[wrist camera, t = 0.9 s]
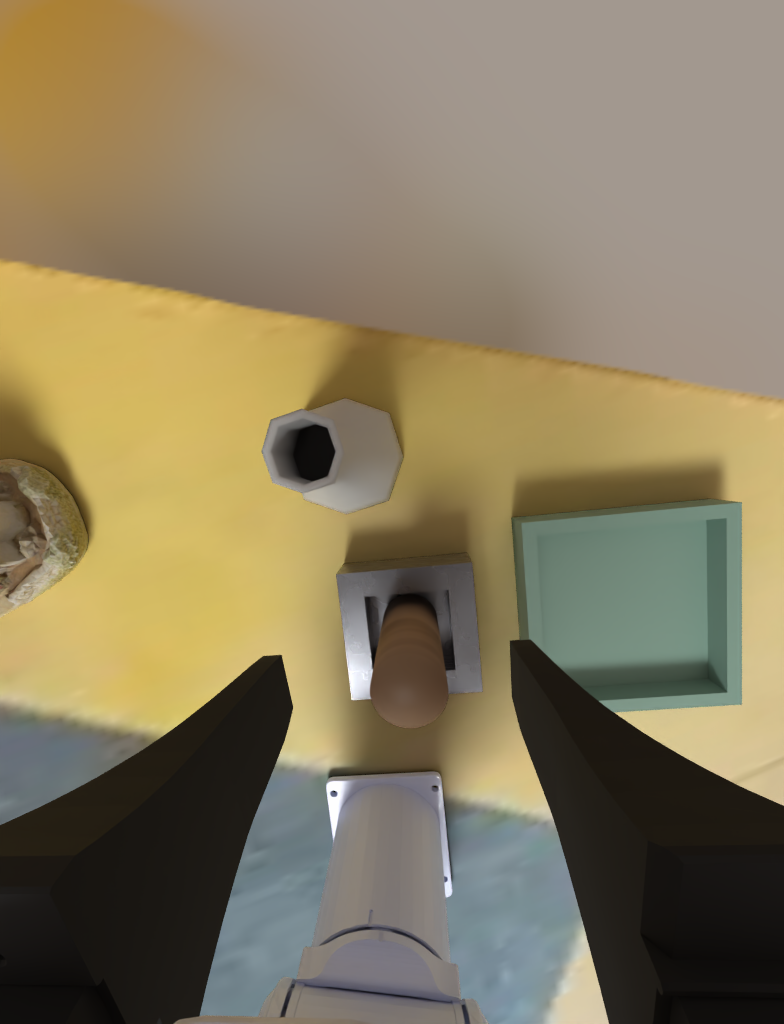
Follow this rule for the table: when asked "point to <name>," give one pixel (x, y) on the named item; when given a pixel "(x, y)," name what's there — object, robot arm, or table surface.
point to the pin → (409, 665)
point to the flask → (335, 455)
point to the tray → (637, 601)
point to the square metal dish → (428, 577)
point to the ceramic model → (35, 533)
